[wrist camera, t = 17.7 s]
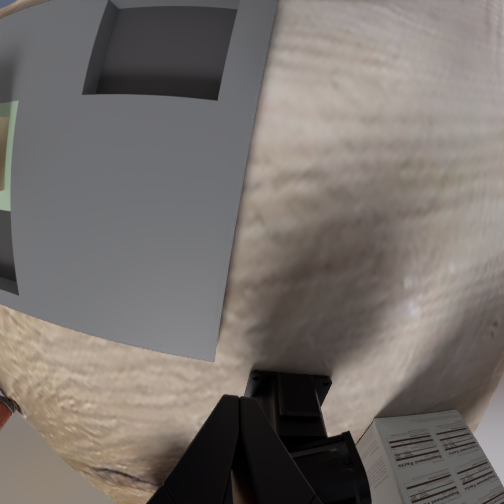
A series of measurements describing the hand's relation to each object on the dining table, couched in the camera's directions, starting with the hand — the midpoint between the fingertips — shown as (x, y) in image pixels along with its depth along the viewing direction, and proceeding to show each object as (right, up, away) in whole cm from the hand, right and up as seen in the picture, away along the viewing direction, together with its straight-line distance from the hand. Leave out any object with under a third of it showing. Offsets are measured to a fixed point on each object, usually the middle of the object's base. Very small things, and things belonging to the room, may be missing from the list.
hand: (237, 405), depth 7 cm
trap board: (-12, +10, +9) cm, 18 cm away
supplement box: (+17, -21, +20) cm, 34 cm away
